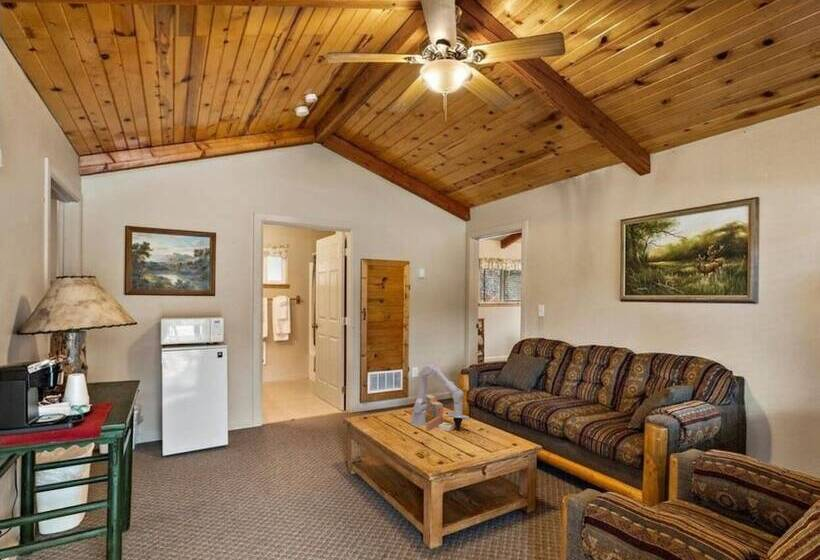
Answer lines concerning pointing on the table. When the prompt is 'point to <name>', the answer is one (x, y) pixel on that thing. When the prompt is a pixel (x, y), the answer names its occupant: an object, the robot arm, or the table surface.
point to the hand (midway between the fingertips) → (458, 429)
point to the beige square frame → (446, 426)
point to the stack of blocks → (433, 406)
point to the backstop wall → (434, 423)
